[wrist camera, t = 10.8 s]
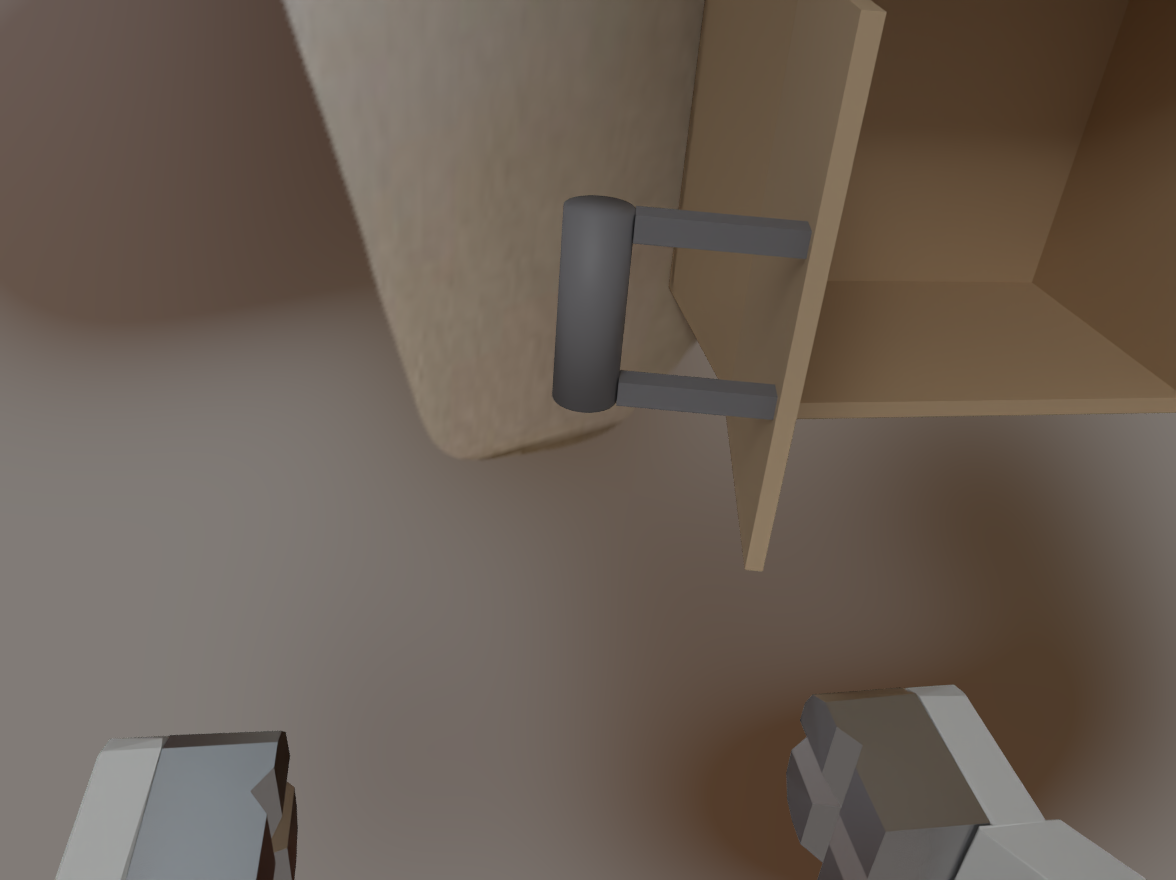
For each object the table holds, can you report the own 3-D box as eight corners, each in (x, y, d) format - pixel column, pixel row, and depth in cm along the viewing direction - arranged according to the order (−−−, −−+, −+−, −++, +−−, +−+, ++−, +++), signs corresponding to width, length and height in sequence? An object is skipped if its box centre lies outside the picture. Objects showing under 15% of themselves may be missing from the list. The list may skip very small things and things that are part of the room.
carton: (715, -85, 43) (827, -50, 31) (1151, -53, 46) (1396, -11, 35) (668, 287, 52) (740, 419, 41) (1032, 289, 56) (1193, 412, 44)
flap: (822, -36, 31) (597, -56, 31) (888, 13, 22) (573, -15, 22) (739, 415, 40) (565, 398, 40) (763, 575, 32) (540, 554, 32)
